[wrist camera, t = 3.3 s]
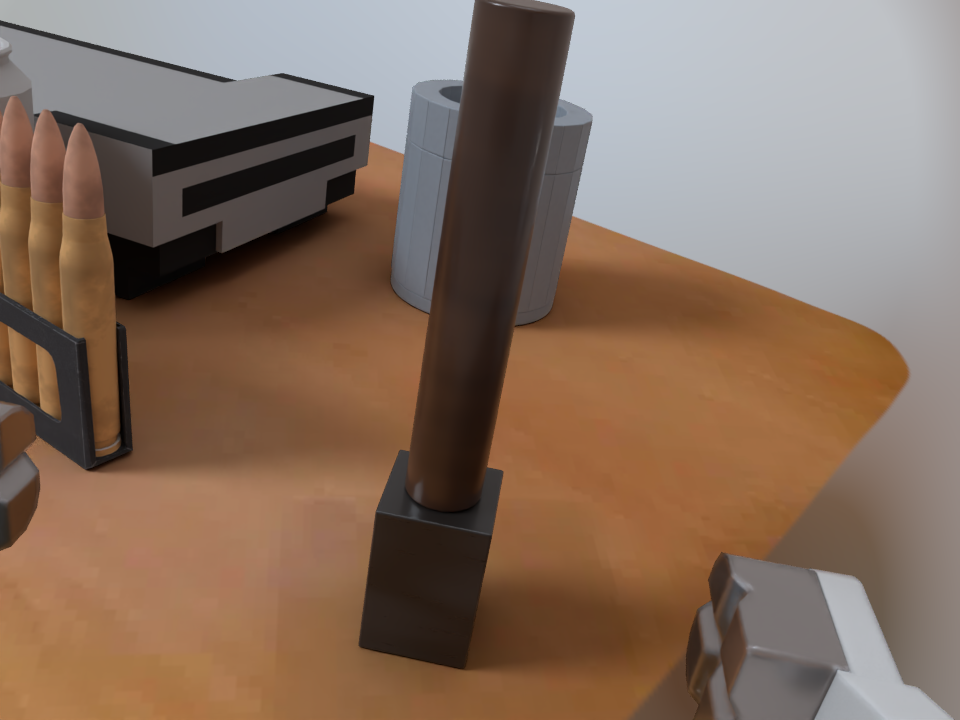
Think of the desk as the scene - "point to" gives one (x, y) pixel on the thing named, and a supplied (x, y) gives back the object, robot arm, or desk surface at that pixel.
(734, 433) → the desk surface
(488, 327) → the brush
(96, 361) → the ammunition clip
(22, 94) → the can
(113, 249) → the game console
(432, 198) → the hollow cylinder
